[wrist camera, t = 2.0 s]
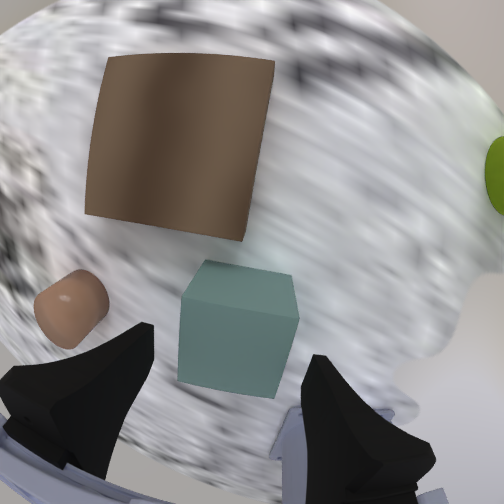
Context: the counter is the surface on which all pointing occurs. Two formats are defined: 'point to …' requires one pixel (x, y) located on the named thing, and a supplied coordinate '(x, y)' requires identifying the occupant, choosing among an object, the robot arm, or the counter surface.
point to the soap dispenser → (496, 174)
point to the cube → (236, 329)
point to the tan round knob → (71, 308)
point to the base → (178, 141)
